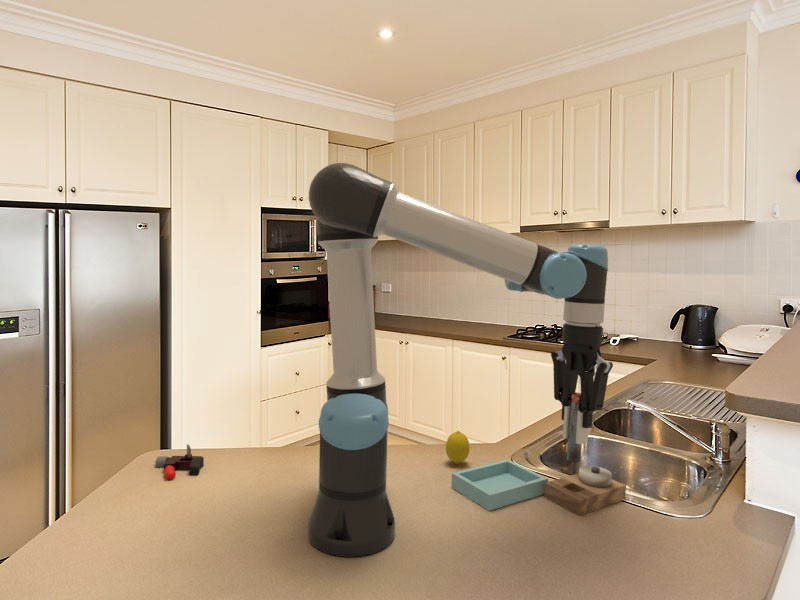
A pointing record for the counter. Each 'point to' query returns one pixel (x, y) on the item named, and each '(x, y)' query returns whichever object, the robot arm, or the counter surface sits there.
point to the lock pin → (574, 429)
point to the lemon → (457, 447)
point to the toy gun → (180, 464)
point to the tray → (498, 484)
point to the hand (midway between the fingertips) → (575, 439)
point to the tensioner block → (585, 490)
